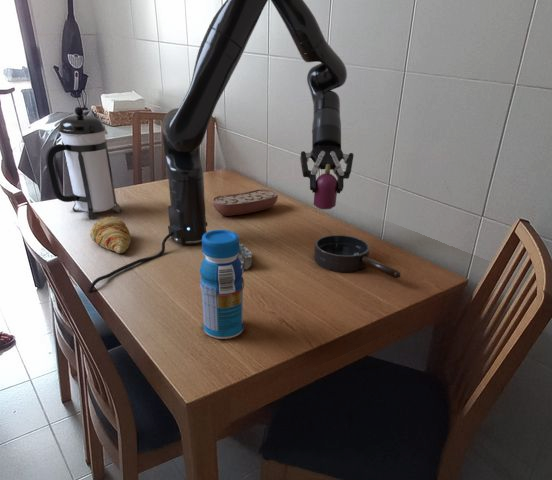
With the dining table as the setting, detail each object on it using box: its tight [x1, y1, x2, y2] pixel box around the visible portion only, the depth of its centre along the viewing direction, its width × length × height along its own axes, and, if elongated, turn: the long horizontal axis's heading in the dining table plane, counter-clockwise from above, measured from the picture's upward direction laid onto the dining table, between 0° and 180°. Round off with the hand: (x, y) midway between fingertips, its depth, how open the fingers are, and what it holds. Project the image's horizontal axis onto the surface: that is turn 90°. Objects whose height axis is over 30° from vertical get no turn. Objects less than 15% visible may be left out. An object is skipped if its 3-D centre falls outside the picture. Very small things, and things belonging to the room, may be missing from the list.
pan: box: [313, 234, 371, 273], centre depth 126 cm, size 14×14×4 cm
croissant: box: [89, 215, 132, 254], centre depth 131 cm, size 21×10×8 cm, turn 32°
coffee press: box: [45, 106, 122, 220], centre depth 143 cm, size 17×16×30 cm
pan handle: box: [361, 257, 401, 279], centre depth 117 cm, size 12×2×2 cm, turn 40°
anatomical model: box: [212, 188, 279, 217], centre depth 155 cm, size 23×10×5 cm, turn 124°
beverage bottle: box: [199, 229, 245, 340], centre depth 92 cm, size 8×8×20 cm
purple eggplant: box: [313, 164, 338, 210], centre depth 123 cm, size 6×6×11 cm
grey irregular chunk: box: [237, 243, 253, 270], centre depth 123 cm, size 11×8×4 cm
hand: (326, 191), depth 122 cm, fingers closed on purple eggplant, 6 cm apart
